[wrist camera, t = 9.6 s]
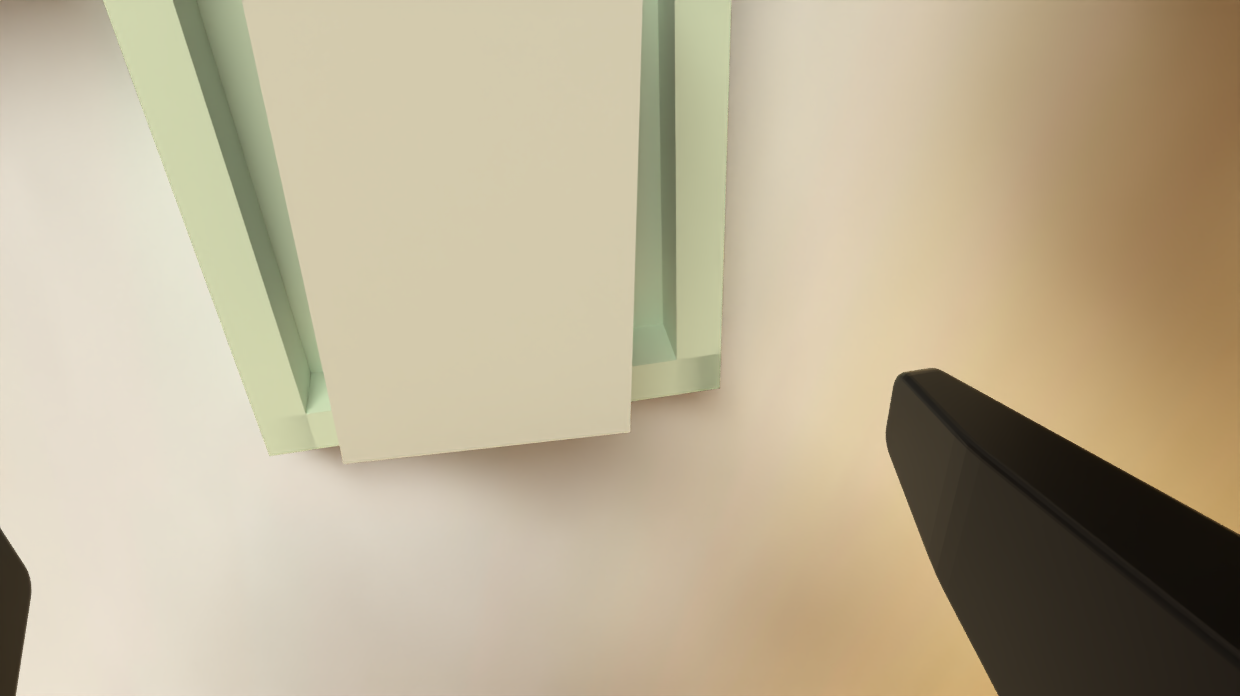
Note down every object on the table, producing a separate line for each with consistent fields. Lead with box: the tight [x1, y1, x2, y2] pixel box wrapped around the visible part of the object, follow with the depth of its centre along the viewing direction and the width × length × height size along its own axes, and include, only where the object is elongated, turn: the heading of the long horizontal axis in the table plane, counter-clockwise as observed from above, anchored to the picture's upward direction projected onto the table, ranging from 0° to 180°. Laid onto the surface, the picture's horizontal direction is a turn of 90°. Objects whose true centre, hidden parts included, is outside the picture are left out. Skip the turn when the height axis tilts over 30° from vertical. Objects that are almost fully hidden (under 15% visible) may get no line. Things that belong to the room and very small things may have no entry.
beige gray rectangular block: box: [242, 0, 643, 464], centre depth 16 cm, size 5×9×5 cm, turn 0°
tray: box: [103, 0, 731, 456], centre depth 17 cm, size 10×14×2 cm
